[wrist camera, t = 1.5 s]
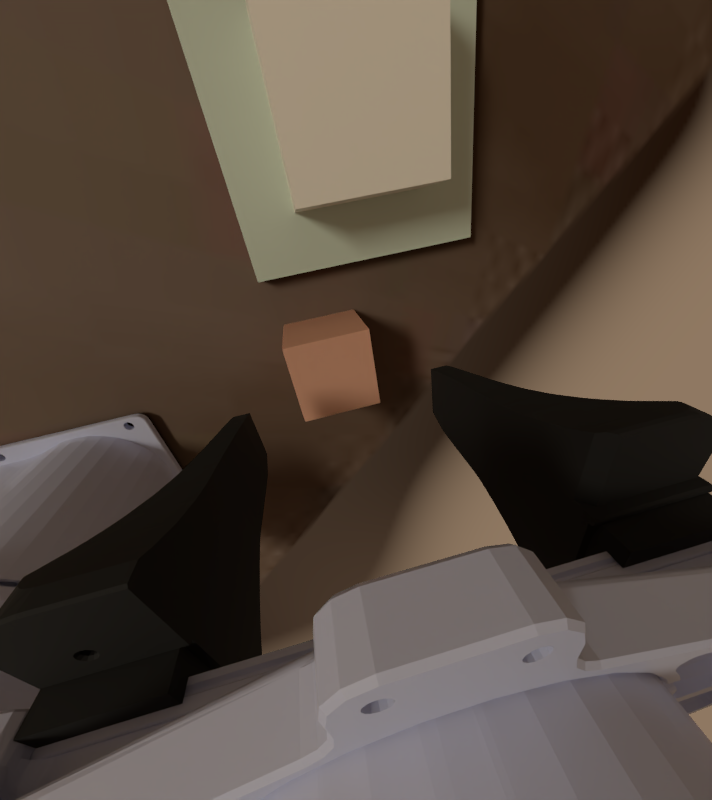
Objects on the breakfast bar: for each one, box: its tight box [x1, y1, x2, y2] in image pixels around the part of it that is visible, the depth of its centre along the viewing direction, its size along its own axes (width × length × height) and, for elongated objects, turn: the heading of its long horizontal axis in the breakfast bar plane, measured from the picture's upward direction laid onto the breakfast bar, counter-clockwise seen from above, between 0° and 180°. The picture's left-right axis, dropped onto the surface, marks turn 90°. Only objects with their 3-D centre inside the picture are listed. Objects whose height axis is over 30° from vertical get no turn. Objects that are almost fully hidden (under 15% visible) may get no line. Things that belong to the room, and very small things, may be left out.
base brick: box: [245, 0, 451, 213], centre depth 11 cm, size 6×6×3 cm
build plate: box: [167, 0, 477, 282], centre depth 13 cm, size 11×11×1 cm
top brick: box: [282, 309, 380, 422], centre depth 16 cm, size 4×4×4 cm
